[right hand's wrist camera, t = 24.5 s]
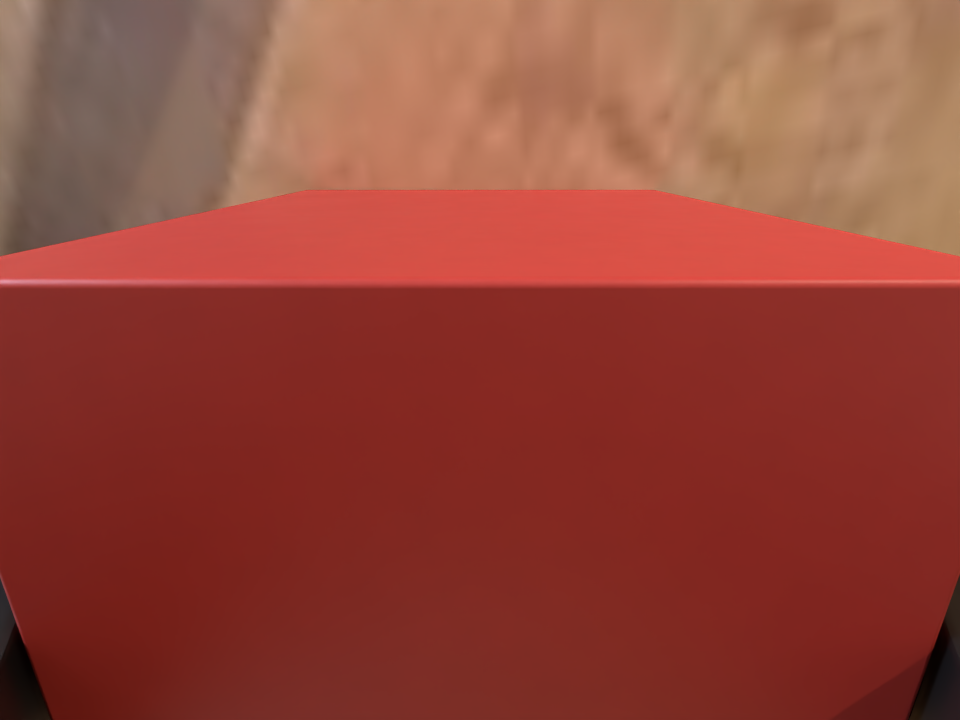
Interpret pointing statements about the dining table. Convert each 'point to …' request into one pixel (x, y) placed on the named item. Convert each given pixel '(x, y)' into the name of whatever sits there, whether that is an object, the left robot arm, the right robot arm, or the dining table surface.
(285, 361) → the block
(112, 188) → the dining table surface
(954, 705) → the right robot arm
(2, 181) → the dining table surface
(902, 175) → the dining table surface
